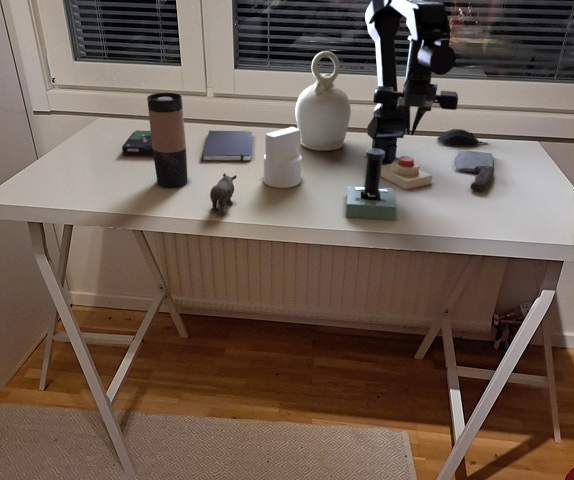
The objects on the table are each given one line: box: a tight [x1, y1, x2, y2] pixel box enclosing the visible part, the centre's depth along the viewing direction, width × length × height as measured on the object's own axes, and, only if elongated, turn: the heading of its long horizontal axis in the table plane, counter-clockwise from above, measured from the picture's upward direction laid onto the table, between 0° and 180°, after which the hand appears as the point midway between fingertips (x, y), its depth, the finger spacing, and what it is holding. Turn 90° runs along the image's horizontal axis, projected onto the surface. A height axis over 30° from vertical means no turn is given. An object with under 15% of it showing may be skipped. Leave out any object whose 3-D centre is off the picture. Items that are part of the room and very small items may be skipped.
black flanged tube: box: [355, 148, 388, 200], centre depth 119 cm, size 7×7×13 cm
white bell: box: [295, 50, 352, 152], centre depth 152 cm, size 15×16×25 cm
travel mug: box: [146, 92, 189, 189], centre depth 127 cm, size 8×8×20 cm
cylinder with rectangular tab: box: [263, 126, 303, 189], centre depth 132 cm, size 9×9×12 cm
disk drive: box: [121, 129, 154, 157], centre depth 152 cm, size 10×3×15 cm
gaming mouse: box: [437, 128, 488, 147], centre depth 162 cm, size 6×15×4 cm, turn 88°
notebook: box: [202, 130, 253, 162], centre depth 154 cm, size 13×2×21 cm
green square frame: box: [345, 185, 396, 221], centre depth 122 cm, size 10×10×3 cm
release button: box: [398, 155, 415, 167], centre depth 135 cm, size 4×4×2 cm
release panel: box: [380, 160, 433, 190], centre depth 137 cm, size 11×8×4 cm
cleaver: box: [454, 150, 495, 192], centre depth 143 cm, size 29×10×2 cm, turn 163°
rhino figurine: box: [209, 172, 237, 216], centre depth 121 cm, size 4×14×6 cm, turn 171°
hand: (410, 134), depth 132 cm, fingers closed
